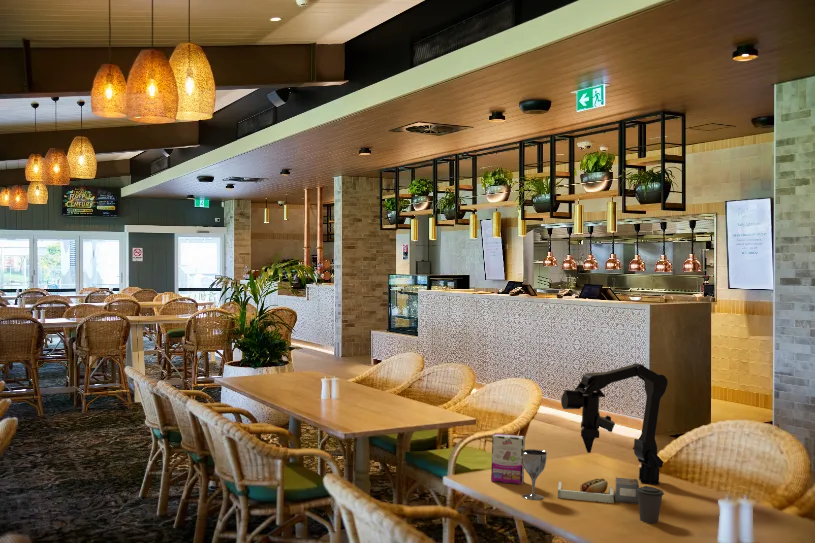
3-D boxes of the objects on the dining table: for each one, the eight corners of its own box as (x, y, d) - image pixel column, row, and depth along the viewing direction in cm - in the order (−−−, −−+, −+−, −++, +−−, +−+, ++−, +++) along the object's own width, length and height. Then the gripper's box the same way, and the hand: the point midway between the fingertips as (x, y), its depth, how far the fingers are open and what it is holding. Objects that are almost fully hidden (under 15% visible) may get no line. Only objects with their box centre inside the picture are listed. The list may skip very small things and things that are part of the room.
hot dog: (610, 493, 267) (611, 479, 266) (590, 501, 257) (591, 486, 257) (597, 490, 270) (598, 476, 270) (577, 497, 260) (578, 482, 260)
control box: (637, 496, 263) (638, 478, 263) (639, 504, 255) (640, 485, 255) (614, 494, 265) (614, 476, 265) (615, 501, 257) (616, 482, 257)
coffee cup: (641, 514, 244) (642, 482, 244) (667, 520, 239) (668, 488, 239) (630, 520, 238) (632, 487, 238) (656, 526, 233) (658, 493, 233)
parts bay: (612, 493, 266) (612, 486, 266) (613, 503, 255) (613, 495, 255) (558, 488, 270) (558, 481, 270) (557, 497, 259) (557, 490, 259)
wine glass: (544, 494, 263) (545, 449, 262) (546, 501, 255) (547, 455, 255) (520, 492, 263) (522, 448, 263) (521, 499, 255) (523, 454, 255)
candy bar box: (524, 481, 278) (525, 435, 277) (521, 485, 273) (523, 438, 273) (493, 478, 281) (494, 432, 281) (490, 481, 276) (492, 435, 276)
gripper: (615, 415, 267) (613, 460, 268) (612, 406, 286) (611, 448, 286) (581, 413, 270) (580, 457, 270) (581, 404, 288) (580, 446, 288)
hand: (588, 452), depth 278 cm, fingers closed
